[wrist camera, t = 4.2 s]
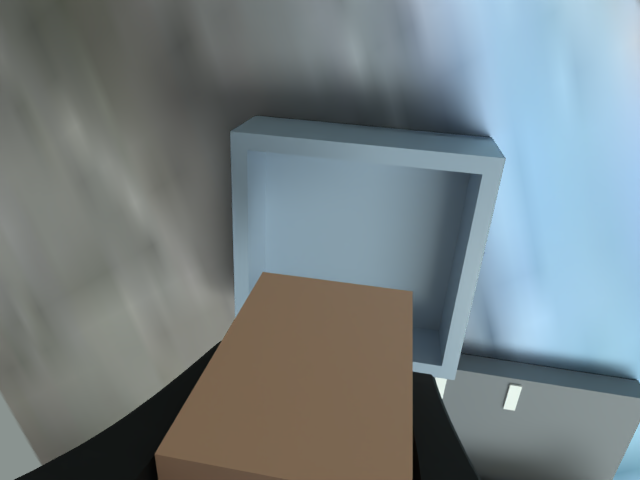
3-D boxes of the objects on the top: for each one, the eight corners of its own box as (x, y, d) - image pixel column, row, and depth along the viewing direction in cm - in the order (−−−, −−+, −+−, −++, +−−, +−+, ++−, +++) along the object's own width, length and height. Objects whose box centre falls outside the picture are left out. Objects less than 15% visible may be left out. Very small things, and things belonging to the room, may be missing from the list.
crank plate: (313, 519, 29) (309, 540, 28) (328, 333, 23) (323, 350, 22) (553, 568, 27) (559, 593, 26) (637, 380, 21) (651, 401, 20)
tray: (256, 307, 23) (235, 345, 20) (255, 115, 19) (230, 131, 16) (449, 335, 22) (454, 380, 19) (491, 137, 18) (505, 158, 15)
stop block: (263, 386, 14) (176, 600, 9) (262, 271, 13) (154, 454, 7) (394, 407, 14) (383, 649, 9) (412, 291, 12) (412, 503, 7)
